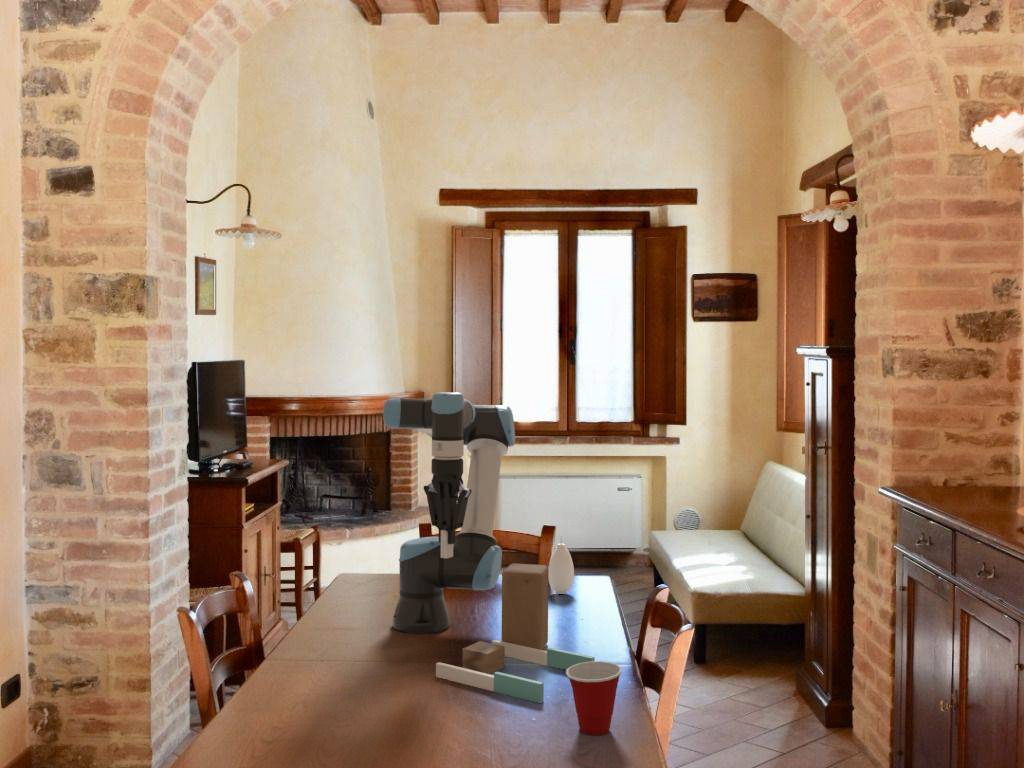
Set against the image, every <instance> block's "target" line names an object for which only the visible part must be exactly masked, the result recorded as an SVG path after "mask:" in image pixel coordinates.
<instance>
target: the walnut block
mask: <svg viewBox="0 0 1024 768" xmlns="http://www.w3.org/2000/svg"><path fill="white" fill-rule="evenodd" d="M461 654H462V657H461V658H462V660H461V661H462V663H461V665H462V667H461V668H465V669H470V670H474V671H478V672H482V673H486V674H490V675H492V674H493V673H495V672H497V671H499V670H501V669H503V668H505V667H504V666H506V665H505V661H506V660H505V657H506V656H505V646H501V645H496V644H492V642H491V643H490V642H485V641H480V640H479V641H477V642H475V643H472V644H470V645H468V646H465V647H463V648H462V653H461ZM502 667H503V668H502ZM500 668H501V669H500ZM498 669H499V670H498ZM496 670H497V671H496ZM492 672H493V673H492Z"/></svg>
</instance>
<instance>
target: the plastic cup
mask: <svg viewBox="0 0 1024 768" xmlns="http://www.w3.org/2000/svg"><path fill="white" fill-rule="evenodd" d="M565 675H566V676H567V677H568V679H569V682H570V685H571V689H572V695H573V700H574V707H575V712H576V715H577V723H578V727H579V731H580V732H581V733H584V734H585V735H589V736H602V735H606V734H608V733H609V732H610V729H611V722H612V717H613V715H614V708H615V702H616V696H617V690H618V689H617V688H618V685H619V684H618V683H619V681H620V679H619V678H620V676H621V675H622V667H621V666H620V665H618V664H617V663H613V662H609V661H602V660H599V661H598V660H595V661H593V662H584V663H579V664H576V665H573V666H571V667H569V668H568V669H567V670H565ZM608 731H609V732H608ZM605 733H606V734H605Z"/></svg>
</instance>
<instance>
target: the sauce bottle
mask: <svg viewBox="0 0 1024 768" xmlns="http://www.w3.org/2000/svg"><path fill="white" fill-rule="evenodd" d="M571 555H572V554H571V553H570V552H569V549H568V548H567V545H566V544H565V543H563V536H562V535H561V536H560V543H557V544H556V548H555V549H554V550H553V552H552V555H551V557H550V560H549V563H548V569H549V574H548V584H549V586H550V588H551V590H552V591H553V592H554V593H555V594H557V595H558V594H564V595H565V594H568V592H569V591H570V590H571V589H572V587H573V584H574V580H575V569H574V568H575V567H574V563H573V558H572V556H571Z"/></svg>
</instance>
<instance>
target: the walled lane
mask: <svg viewBox="0 0 1024 768" xmlns="http://www.w3.org/2000/svg"><path fill="white" fill-rule="evenodd" d="M491 644H496V645H501V646H505V657H507V658H512V659H515V660H519V661H520V660H521V661H525V662H528V663H532V662H533V663H532V664H538V665H541V666H546V667H550V666H551V668H554V667H555V669H559V668H560V670H563V669H565V670H564V671H566V670H567V669H568V668H569V667H571V666H573V665H576V664H579V663H584V662H593V661H596V660H595V656H592V655H586V654H581V653H579V652H578V653H577V652H572V651H568V650H563V649H558V648H554V647H547V649H546V650H544V649H543V650H539V649H535V648H530V647H526V646H521V645H516V644H512V643H507V642H502V641H501V640H497V639H493V640H491ZM435 677H436V678H439V679H443V680H446V679H447V680H446V681H451V682H455V683H459V684H462V685H467V686H471V687H474V688H479V689H482V690H485V691H486V690H487V691H491V692H494V693H498V694H501V695H502V694H503V695H507V696H510V697H514V698H518V699H522V700H526V701H530V702H534V703H537V704H541V703H544V699H545V698H544V695H545V694H544V692H545V690H544V687H545V686H544V685H545V683H544V682H543V681H542V682H541V681H538V680H534V679H529V678H525V677H521V676H517V675H514V674H508V673H506V672H505V673H504V672H501V671H495V672H493V674H486V673H482V672H478V671H474V670H470V669H465V668H462V667H461V666H456V665H452V664H448V663H444V662H439V661H438V662H436V663H435Z"/></svg>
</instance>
